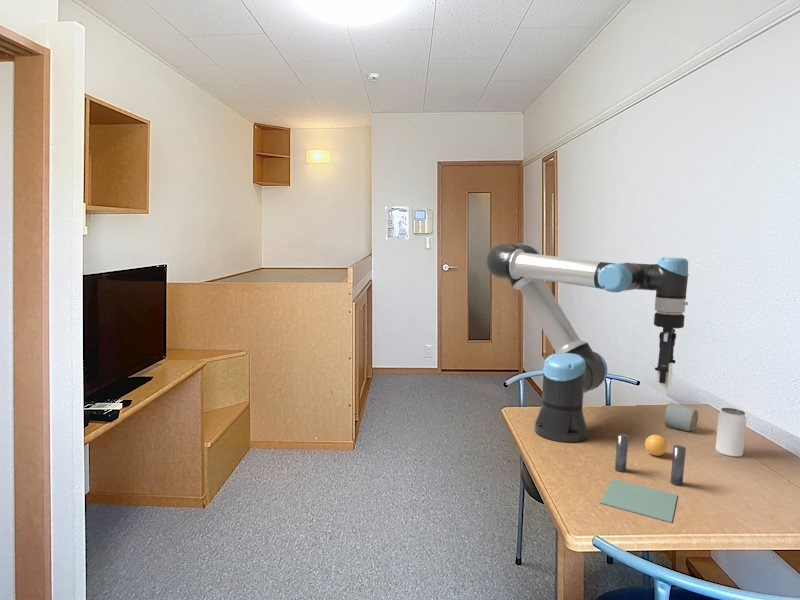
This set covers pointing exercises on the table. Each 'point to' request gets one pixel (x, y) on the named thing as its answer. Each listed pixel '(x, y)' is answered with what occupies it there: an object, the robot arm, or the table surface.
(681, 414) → the grey lying cylinder
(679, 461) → the post right
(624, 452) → the post left
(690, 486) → the table surface
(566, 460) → the table surface
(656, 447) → the ball
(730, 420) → the can
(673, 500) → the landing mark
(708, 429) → the table surface
